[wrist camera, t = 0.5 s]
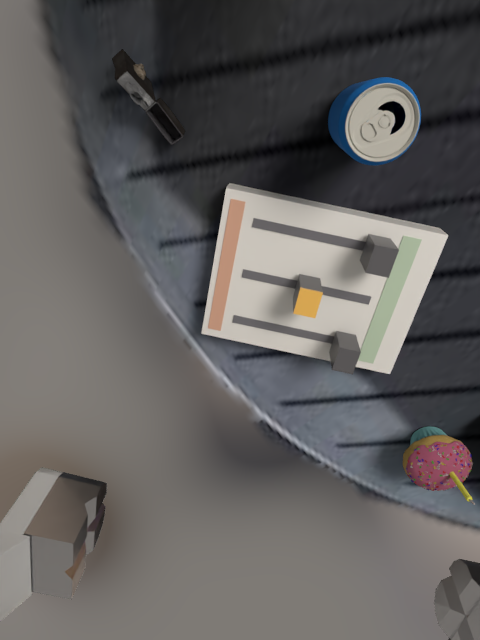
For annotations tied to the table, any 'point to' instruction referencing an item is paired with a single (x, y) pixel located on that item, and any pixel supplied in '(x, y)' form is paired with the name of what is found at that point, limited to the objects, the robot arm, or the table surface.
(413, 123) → the beverage can
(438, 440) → the cupcake
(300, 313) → the block
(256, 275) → the white slider switch panel
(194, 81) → the table surface
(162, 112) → the lighter
